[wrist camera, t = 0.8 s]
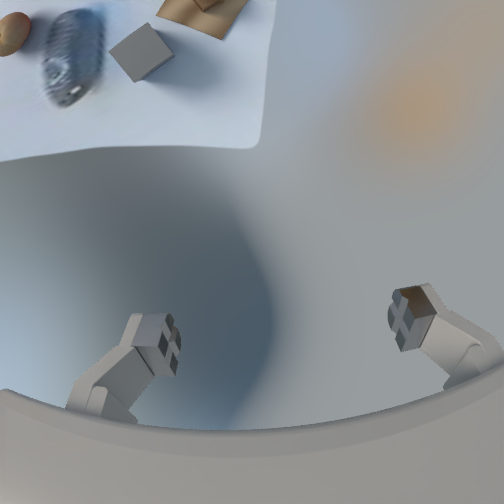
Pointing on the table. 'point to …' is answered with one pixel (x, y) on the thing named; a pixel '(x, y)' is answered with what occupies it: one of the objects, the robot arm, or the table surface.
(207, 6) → the walnut block
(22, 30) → the fruit
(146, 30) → the plain grey cube
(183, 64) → the table surface
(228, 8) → the cork mat
